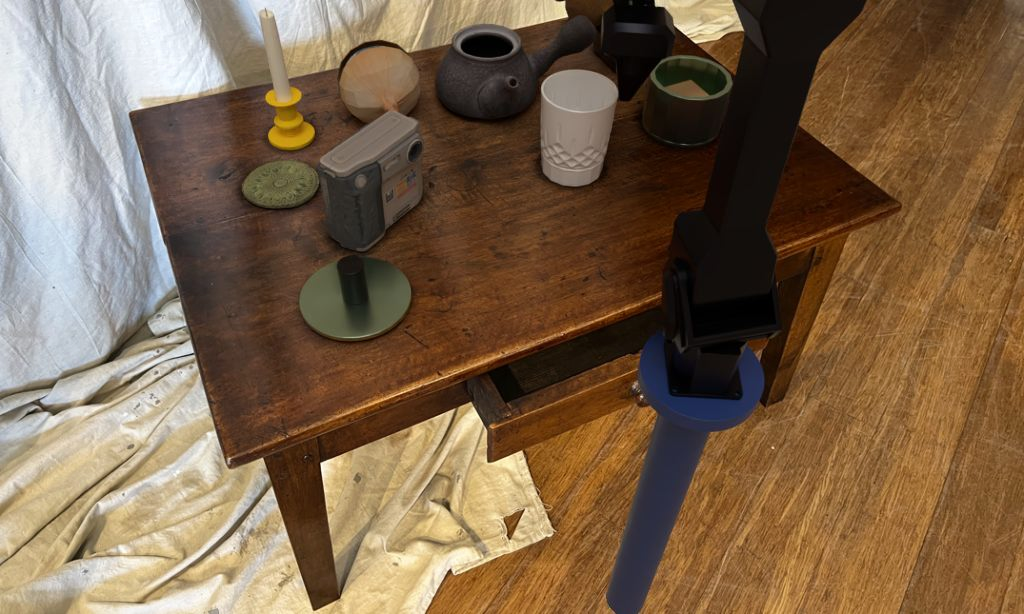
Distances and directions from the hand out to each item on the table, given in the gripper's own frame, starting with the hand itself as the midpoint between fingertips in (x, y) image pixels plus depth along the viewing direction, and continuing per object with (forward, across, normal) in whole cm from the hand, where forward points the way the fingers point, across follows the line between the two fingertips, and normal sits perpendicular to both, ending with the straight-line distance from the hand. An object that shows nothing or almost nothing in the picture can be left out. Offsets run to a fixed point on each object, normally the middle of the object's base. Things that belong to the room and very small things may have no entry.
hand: (623, 75), depth 80 cm
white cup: (+12, +1, -4) cm, 12 cm away
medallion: (+11, +7, -35) cm, 38 cm away
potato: (+6, -32, +2) cm, 32 cm away
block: (+11, -9, +8) cm, 16 cm away
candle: (+11, -2, -36) cm, 38 cm away
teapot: (+11, -12, -11) cm, 20 cm away
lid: (+11, +23, -24) cm, 35 cm away
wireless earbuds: (+11, -22, +2) cm, 25 cm away
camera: (+12, +11, -24) cm, 29 cm away
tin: (+11, -9, +8) cm, 17 cm away
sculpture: (+11, -6, -26) cm, 29 cm away
